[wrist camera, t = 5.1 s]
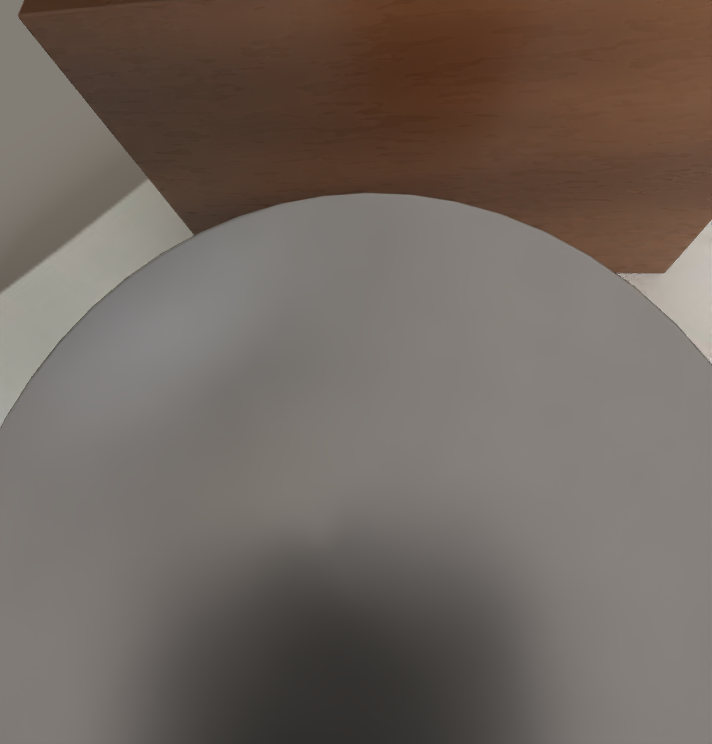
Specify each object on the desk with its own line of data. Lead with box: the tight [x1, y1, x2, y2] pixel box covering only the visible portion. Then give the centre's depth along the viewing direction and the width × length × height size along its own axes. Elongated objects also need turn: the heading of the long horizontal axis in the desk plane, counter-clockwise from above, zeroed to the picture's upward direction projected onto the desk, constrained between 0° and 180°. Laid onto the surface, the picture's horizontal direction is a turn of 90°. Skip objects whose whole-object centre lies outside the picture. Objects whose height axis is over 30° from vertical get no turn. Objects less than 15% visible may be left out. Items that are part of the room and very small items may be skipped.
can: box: [0, 193, 712, 744], centre depth 9 cm, size 7×7×12 cm
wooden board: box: [18, 0, 712, 273], centre depth 13 cm, size 2×16×10 cm, turn 85°
